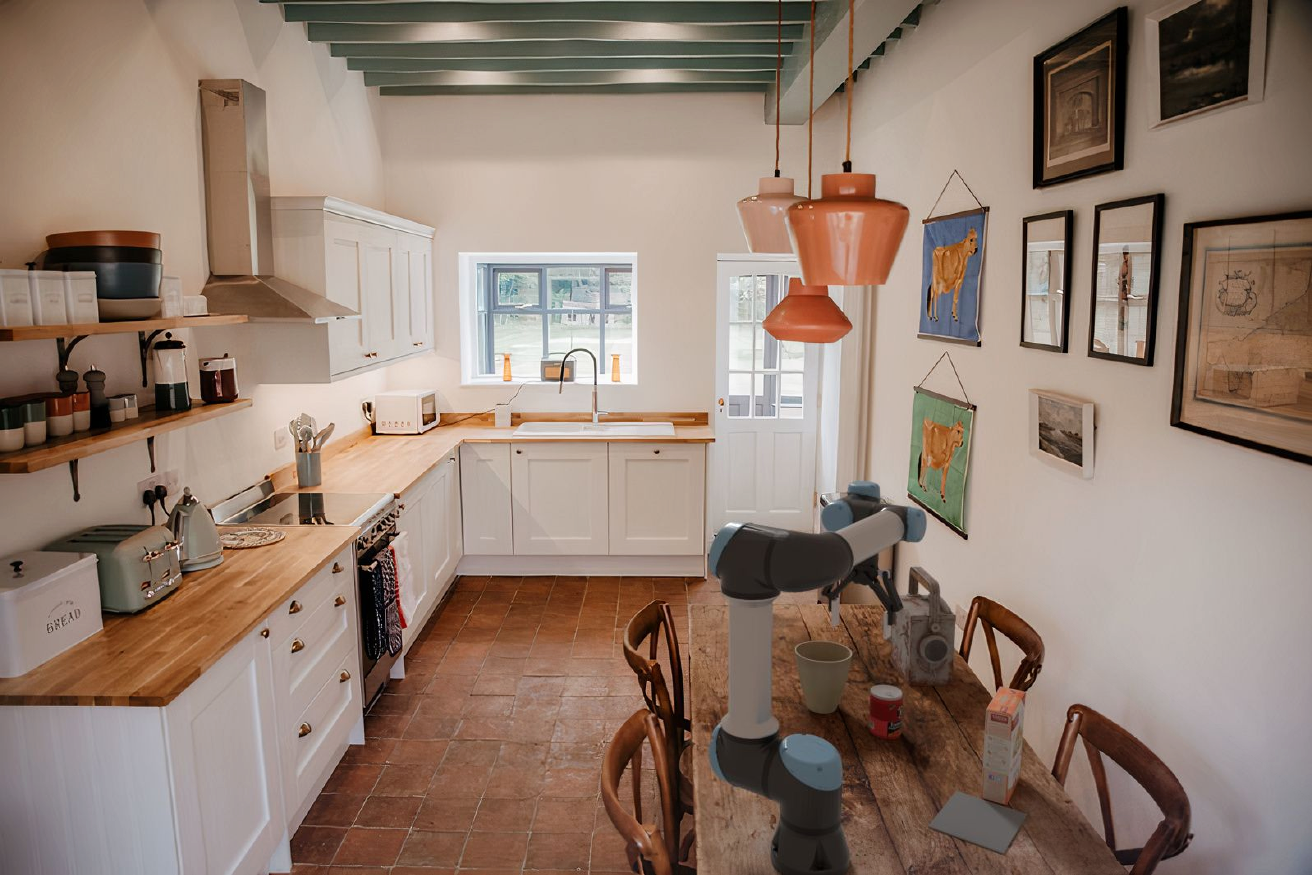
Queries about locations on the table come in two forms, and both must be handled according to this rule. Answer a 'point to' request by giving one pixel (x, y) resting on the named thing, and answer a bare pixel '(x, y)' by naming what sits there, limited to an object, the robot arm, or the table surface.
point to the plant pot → (822, 673)
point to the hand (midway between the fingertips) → (860, 631)
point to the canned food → (886, 711)
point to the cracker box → (1003, 745)
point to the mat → (978, 822)
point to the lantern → (923, 634)
